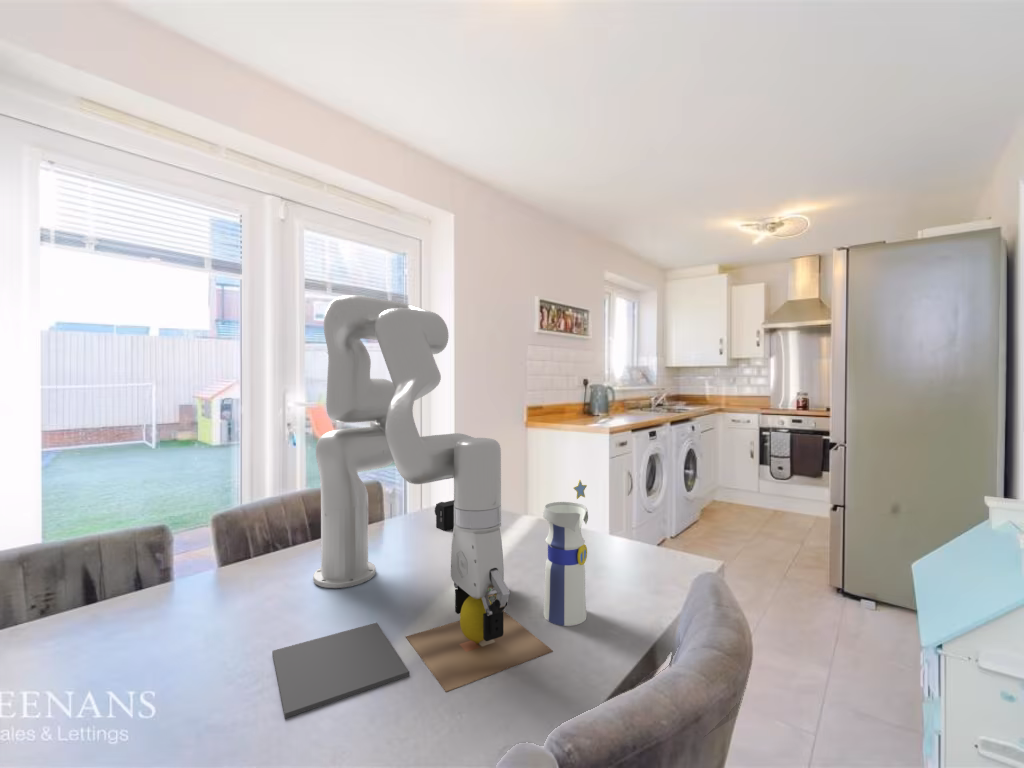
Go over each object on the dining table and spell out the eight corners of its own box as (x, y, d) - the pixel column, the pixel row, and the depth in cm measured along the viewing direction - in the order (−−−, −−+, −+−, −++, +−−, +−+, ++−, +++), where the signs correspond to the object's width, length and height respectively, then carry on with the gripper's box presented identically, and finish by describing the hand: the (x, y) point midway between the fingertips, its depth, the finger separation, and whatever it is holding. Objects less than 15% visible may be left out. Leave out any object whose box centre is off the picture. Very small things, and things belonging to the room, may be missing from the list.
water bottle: (596, 610, 86) (596, 473, 86) (578, 631, 78) (578, 482, 78) (555, 599, 90) (555, 469, 90) (534, 618, 83) (534, 477, 83)
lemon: (453, 648, 73) (453, 597, 73) (469, 631, 78) (469, 583, 78) (485, 656, 71) (485, 603, 71) (500, 637, 76) (500, 588, 76)
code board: (405, 637, 77) (405, 636, 77) (500, 609, 86) (500, 608, 86) (445, 692, 63) (445, 690, 63) (552, 651, 73) (552, 650, 73)
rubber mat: (272, 654, 72) (272, 650, 72) (376, 625, 80) (376, 622, 80) (284, 718, 58) (284, 713, 58) (409, 675, 67) (409, 671, 67)
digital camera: (463, 519, 142) (463, 496, 142) (473, 523, 138) (473, 500, 138) (433, 526, 135) (433, 502, 135) (444, 531, 131) (443, 506, 131)
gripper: (434, 507, 80) (434, 608, 80) (482, 535, 65) (483, 658, 65) (473, 501, 84) (474, 597, 84) (527, 526, 69) (528, 642, 69)
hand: (478, 623), depth 75 cm, fingers open, 9 cm apart
